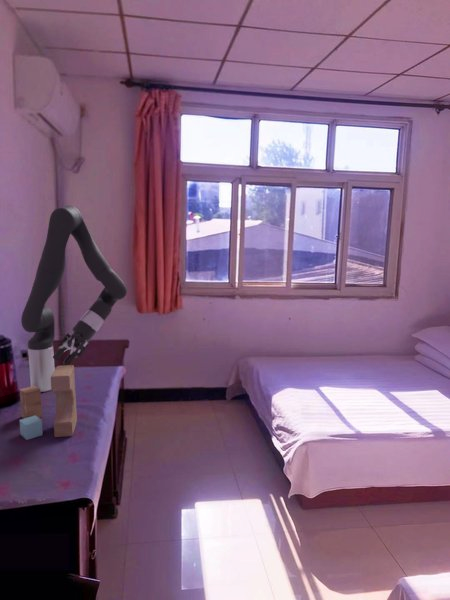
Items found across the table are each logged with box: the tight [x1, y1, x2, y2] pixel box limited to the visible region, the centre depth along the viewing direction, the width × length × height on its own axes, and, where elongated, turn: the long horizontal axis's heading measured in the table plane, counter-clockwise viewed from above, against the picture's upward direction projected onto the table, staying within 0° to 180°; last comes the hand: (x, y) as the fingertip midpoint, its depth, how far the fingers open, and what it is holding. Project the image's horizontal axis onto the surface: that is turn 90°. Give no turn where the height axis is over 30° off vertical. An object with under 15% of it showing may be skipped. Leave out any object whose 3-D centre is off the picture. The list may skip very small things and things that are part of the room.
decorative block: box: [50, 364, 78, 438], centre depth 142 cm, size 11×6×20 cm, turn 10°
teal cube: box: [18, 415, 44, 441], centre depth 140 cm, size 5×5×5 cm
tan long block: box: [19, 385, 43, 419], centre depth 152 cm, size 5×5×10 cm
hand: (59, 361), depth 157 cm, fingers open, 8 cm apart
